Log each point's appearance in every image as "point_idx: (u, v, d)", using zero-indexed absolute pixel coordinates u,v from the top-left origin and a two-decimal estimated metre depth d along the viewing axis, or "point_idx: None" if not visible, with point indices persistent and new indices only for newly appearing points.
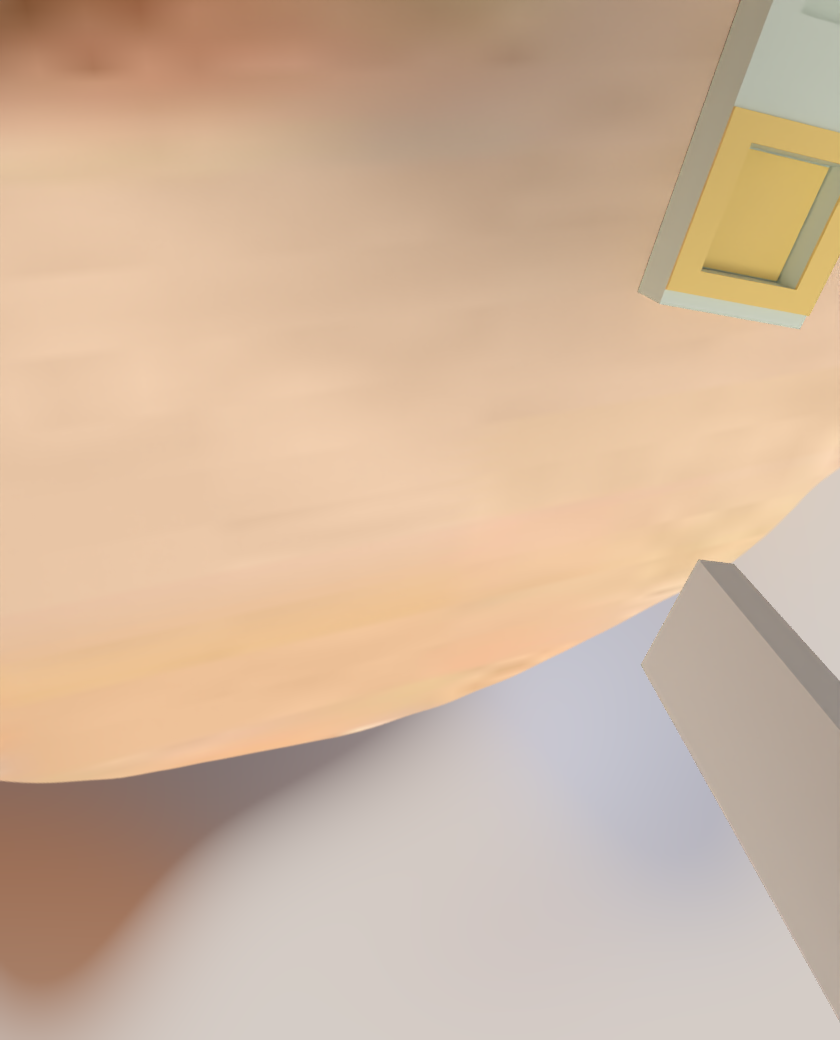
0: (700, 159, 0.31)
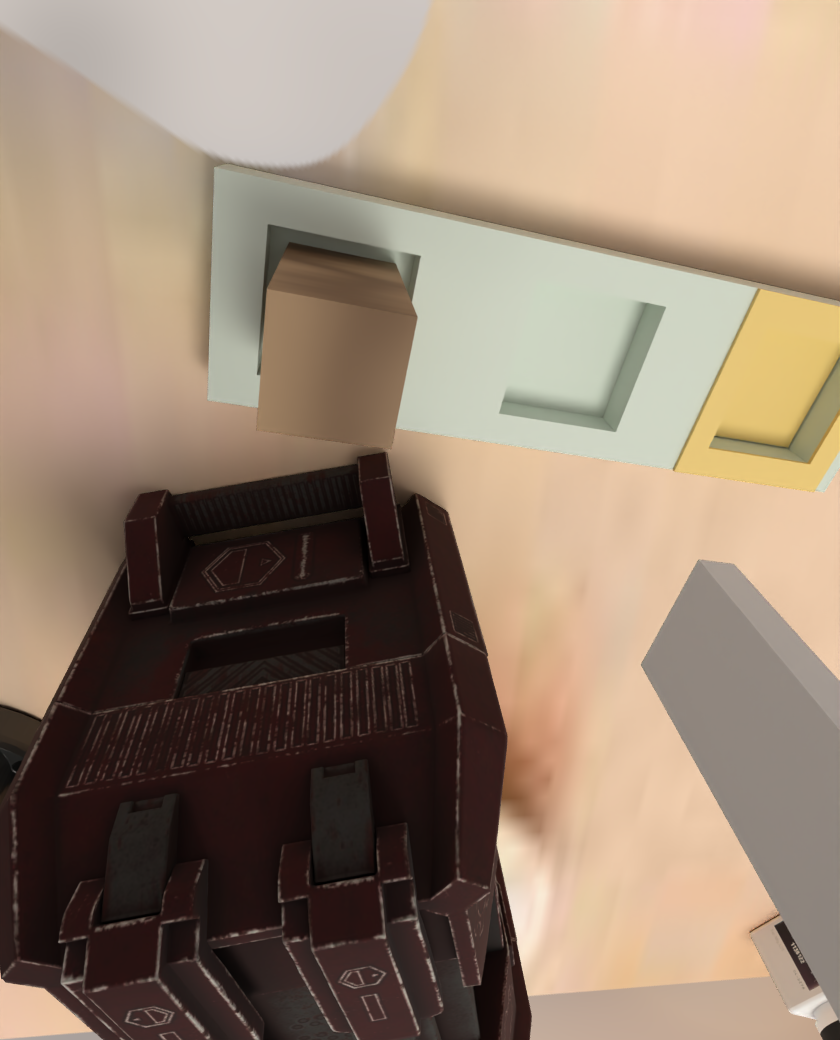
0: None
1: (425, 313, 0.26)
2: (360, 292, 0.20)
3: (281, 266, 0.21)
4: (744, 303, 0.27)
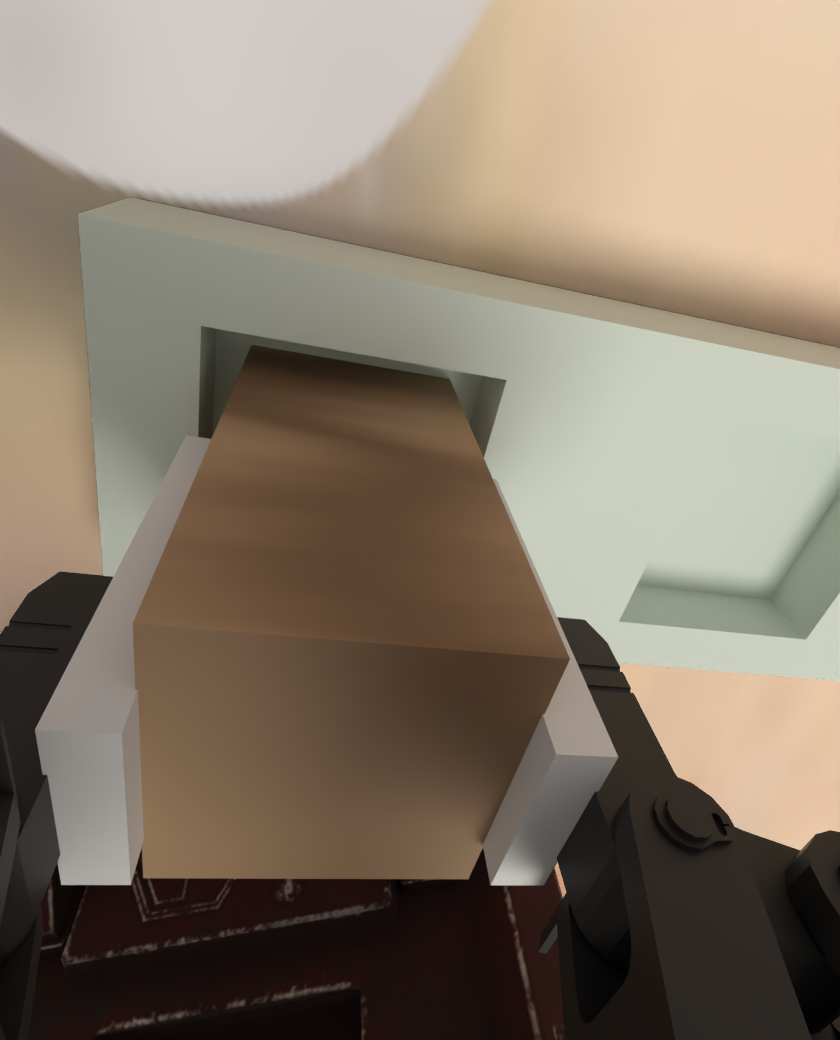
0: None
1: (507, 476, 0.14)
2: (403, 541, 0.08)
3: (214, 454, 0.09)
4: None
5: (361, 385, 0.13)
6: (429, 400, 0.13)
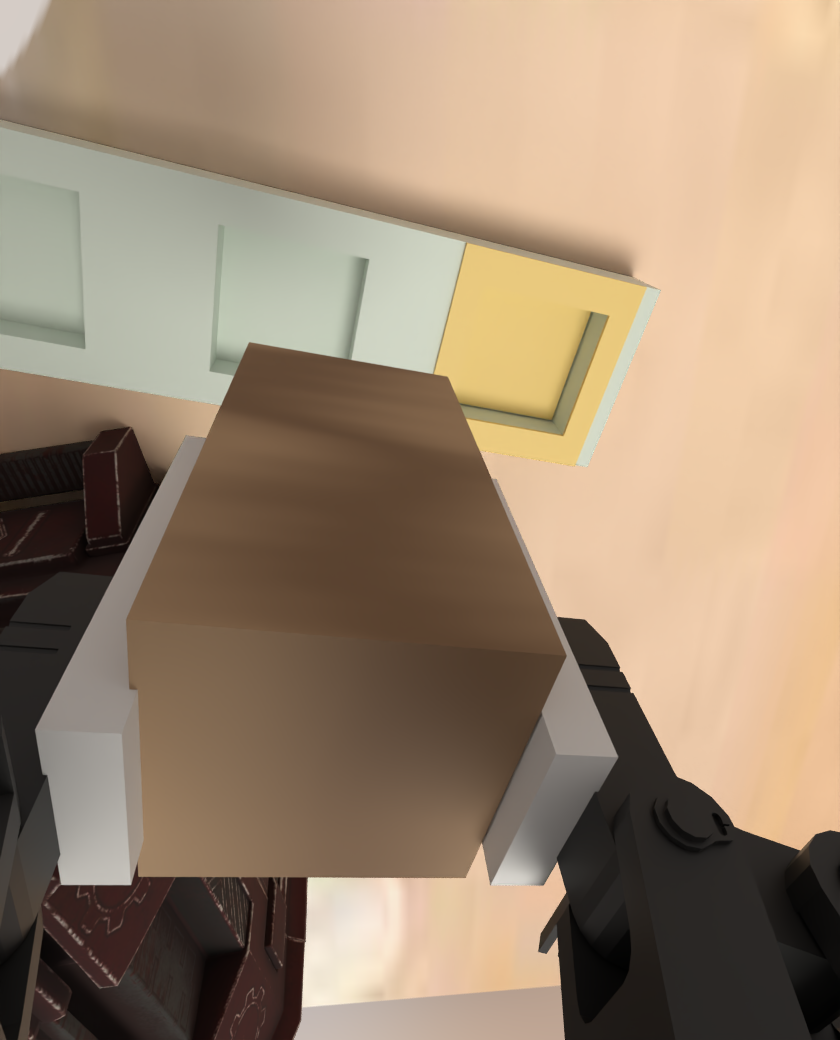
0: None
1: (99, 257, 0.24)
2: (399, 537, 0.08)
3: (210, 450, 0.09)
4: (454, 258, 0.26)
5: (359, 382, 0.13)
6: (427, 397, 0.13)
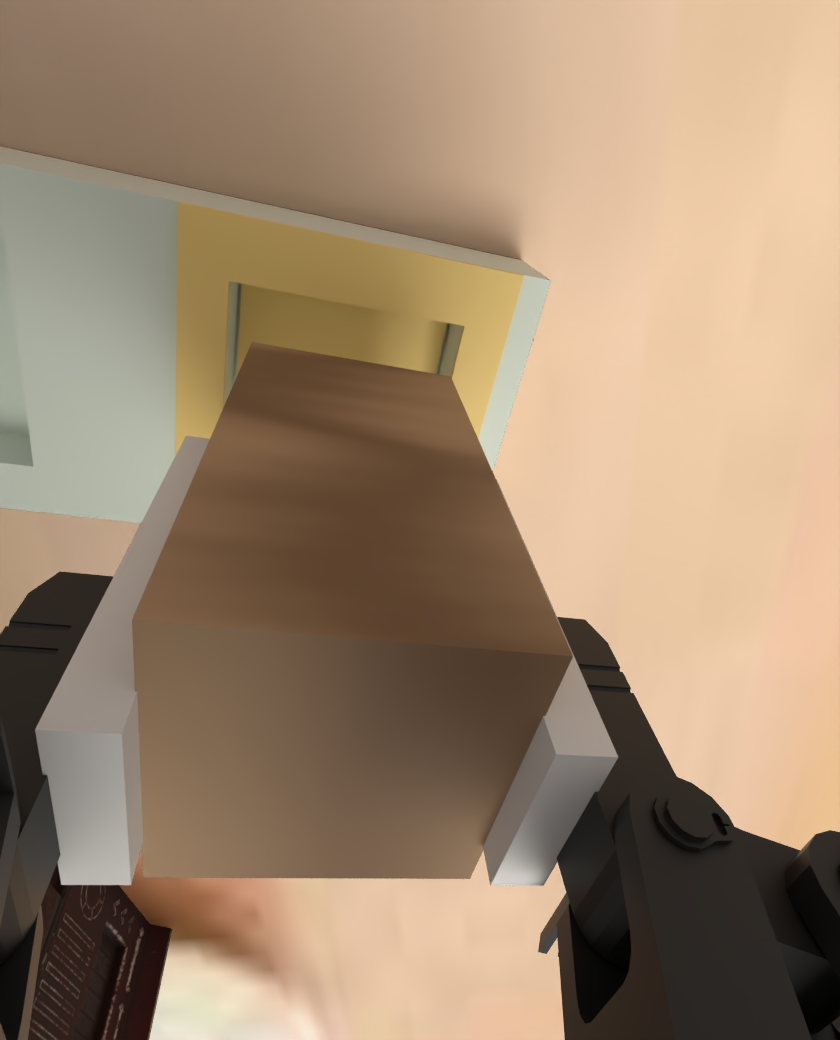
0: None
1: None
2: (404, 537, 0.08)
3: (214, 450, 0.09)
4: (164, 231, 0.14)
5: (362, 382, 0.13)
6: (430, 397, 0.13)
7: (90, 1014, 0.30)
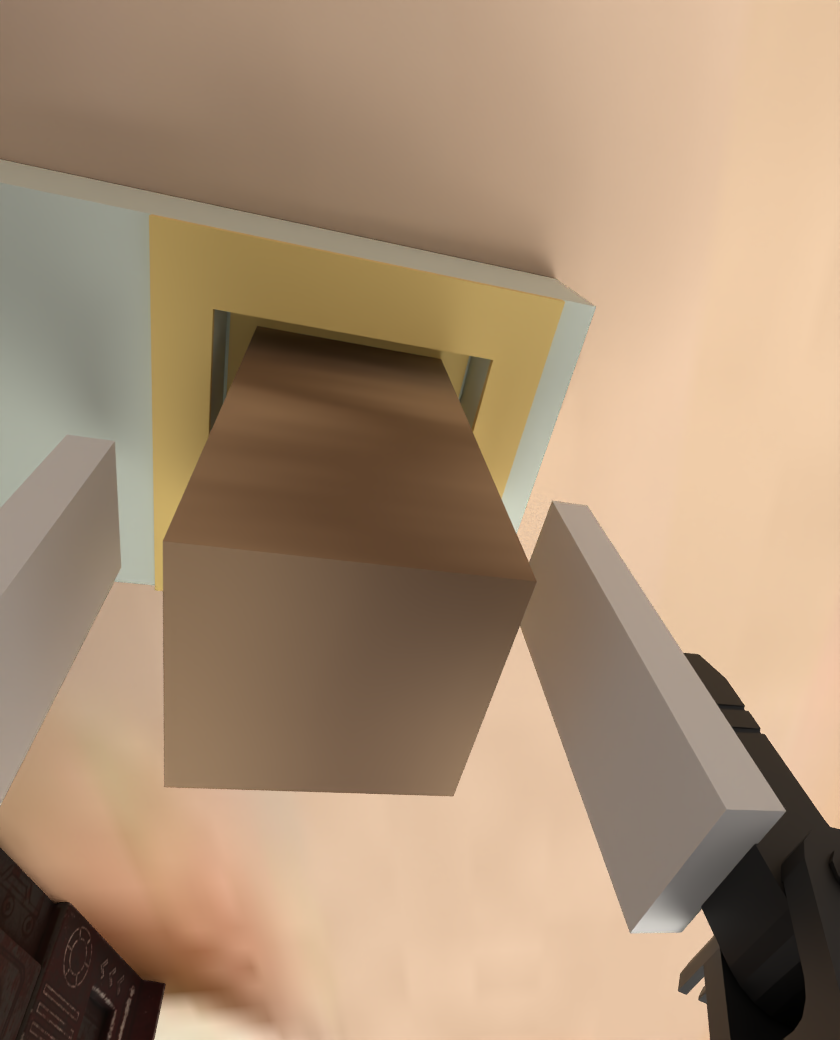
0: None
1: None
2: (394, 488, 0.09)
3: (226, 415, 0.10)
4: (134, 250, 0.12)
5: (358, 362, 0.14)
6: (421, 376, 0.14)
7: None
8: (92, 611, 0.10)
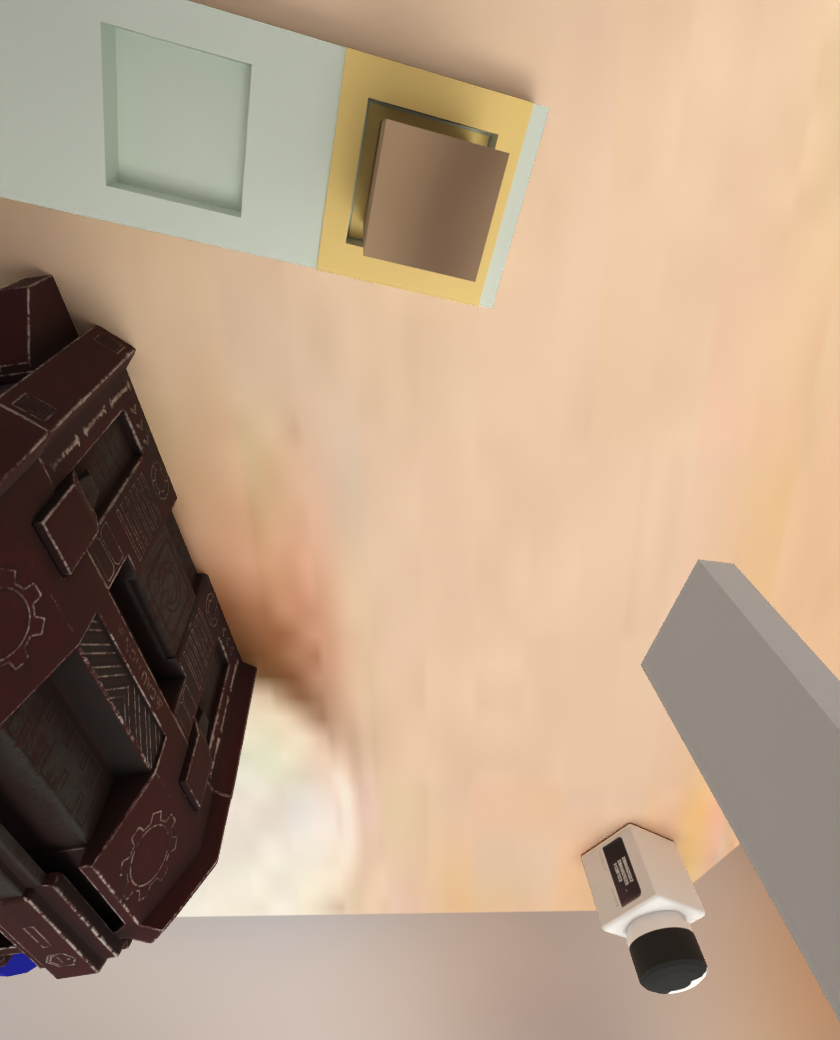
0: None
1: None
2: None
3: None
4: (336, 65, 0.26)
5: None
6: None
7: (209, 690, 0.43)
8: None
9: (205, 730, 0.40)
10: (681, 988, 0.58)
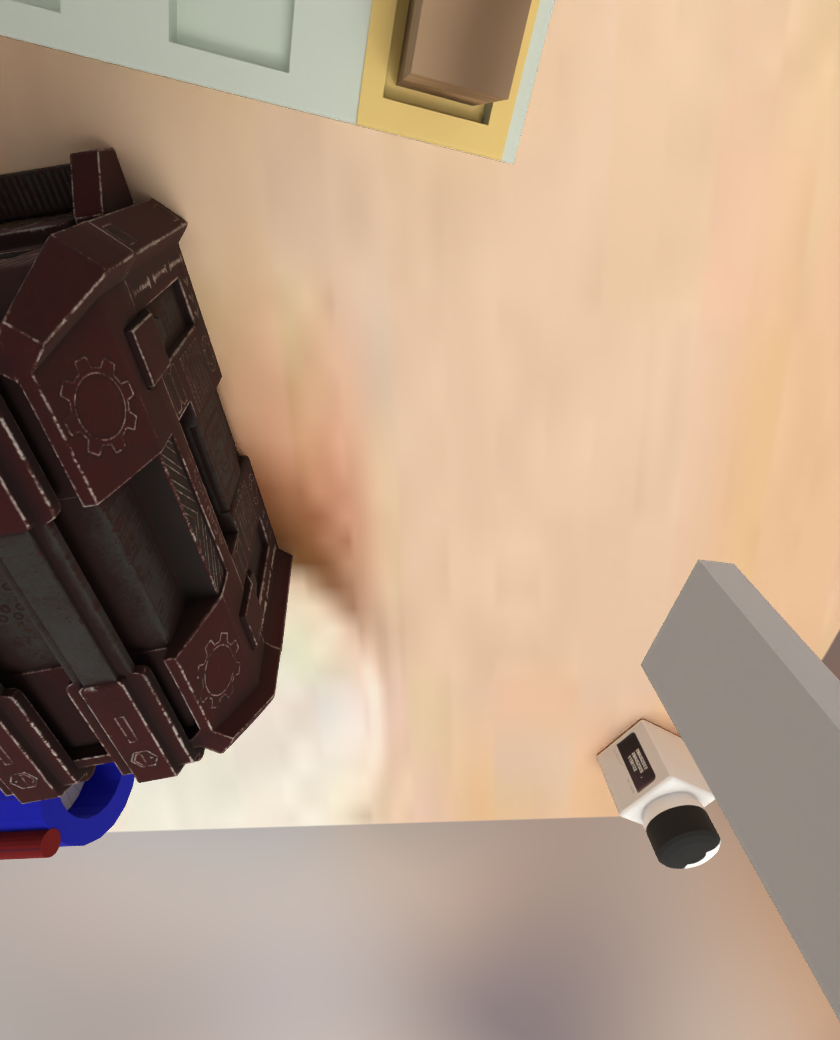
0: (394, 134, 0.35)
1: None
2: None
3: None
4: None
5: None
6: None
7: (254, 561, 0.46)
8: None
9: (255, 588, 0.43)
10: (696, 861, 0.62)
